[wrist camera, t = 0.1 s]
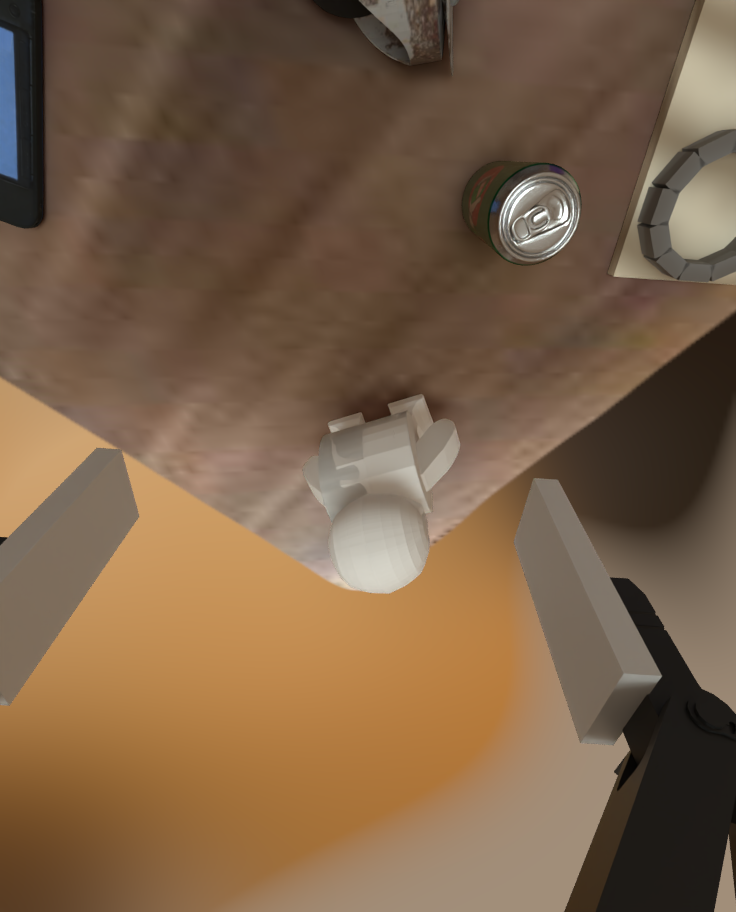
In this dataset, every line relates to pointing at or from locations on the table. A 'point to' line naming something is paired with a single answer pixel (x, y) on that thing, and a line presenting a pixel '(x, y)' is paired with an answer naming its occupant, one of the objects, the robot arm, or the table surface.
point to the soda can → (522, 209)
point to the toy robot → (381, 491)
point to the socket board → (684, 124)
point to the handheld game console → (21, 113)
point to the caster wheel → (401, 26)
